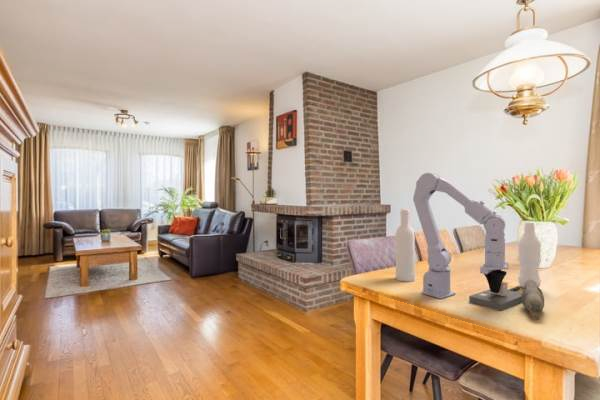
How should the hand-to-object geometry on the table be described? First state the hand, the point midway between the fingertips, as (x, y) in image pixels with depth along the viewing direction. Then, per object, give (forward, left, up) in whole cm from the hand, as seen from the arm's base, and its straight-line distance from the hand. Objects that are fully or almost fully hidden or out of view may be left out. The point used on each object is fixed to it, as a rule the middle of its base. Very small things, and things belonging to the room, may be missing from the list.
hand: (494, 292), depth 107 cm
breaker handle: (+3, 0, -1) cm, 3 cm away
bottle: (0, +36, -4) cm, 36 cm away
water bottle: (+29, +1, -4) cm, 29 cm away
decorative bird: (+2, -10, -4) cm, 11 cm away
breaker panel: (+3, 0, -3) cm, 4 cm away
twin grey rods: (+18, 0, -3) cm, 18 cm away
